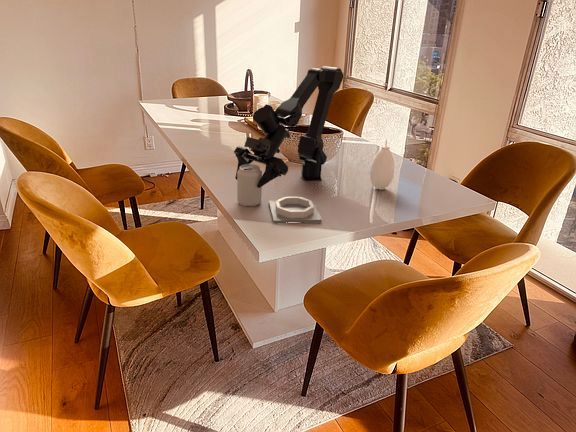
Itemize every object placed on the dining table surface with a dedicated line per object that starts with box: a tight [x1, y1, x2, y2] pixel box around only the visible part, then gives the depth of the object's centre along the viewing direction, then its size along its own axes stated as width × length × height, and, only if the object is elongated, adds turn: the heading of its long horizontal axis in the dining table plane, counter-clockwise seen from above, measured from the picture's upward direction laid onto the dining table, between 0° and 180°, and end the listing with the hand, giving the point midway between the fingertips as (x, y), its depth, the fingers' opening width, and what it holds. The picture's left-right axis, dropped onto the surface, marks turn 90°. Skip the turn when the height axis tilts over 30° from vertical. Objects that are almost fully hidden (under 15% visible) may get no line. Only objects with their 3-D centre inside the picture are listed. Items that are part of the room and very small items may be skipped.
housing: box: [268, 196, 322, 224], centre depth 135 cm, size 14×14×3 cm
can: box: [236, 163, 263, 207], centre depth 138 cm, size 8×8×12 cm
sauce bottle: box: [369, 138, 395, 190], centre depth 152 cm, size 8×8×18 cm
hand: (247, 183), depth 137 cm, fingers open, 9 cm apart
